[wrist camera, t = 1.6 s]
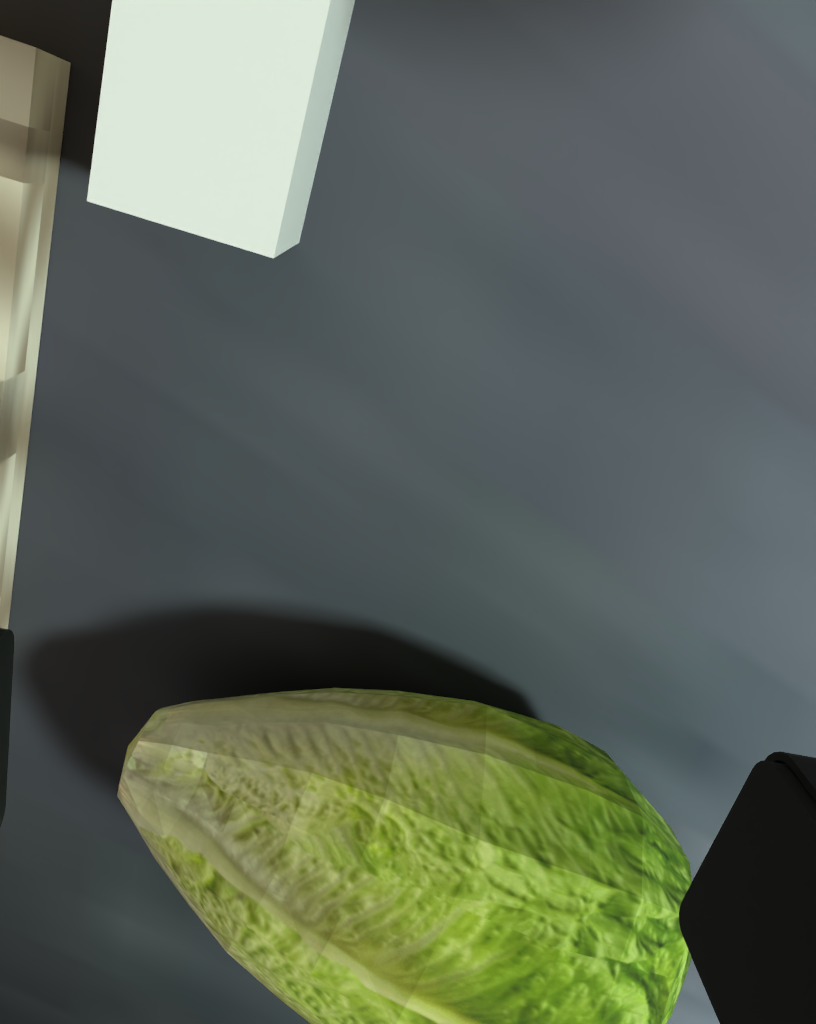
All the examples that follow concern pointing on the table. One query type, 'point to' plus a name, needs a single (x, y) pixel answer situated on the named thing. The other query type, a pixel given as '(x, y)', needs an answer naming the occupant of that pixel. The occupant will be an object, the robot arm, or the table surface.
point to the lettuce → (414, 858)
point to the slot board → (23, 260)
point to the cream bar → (217, 114)
